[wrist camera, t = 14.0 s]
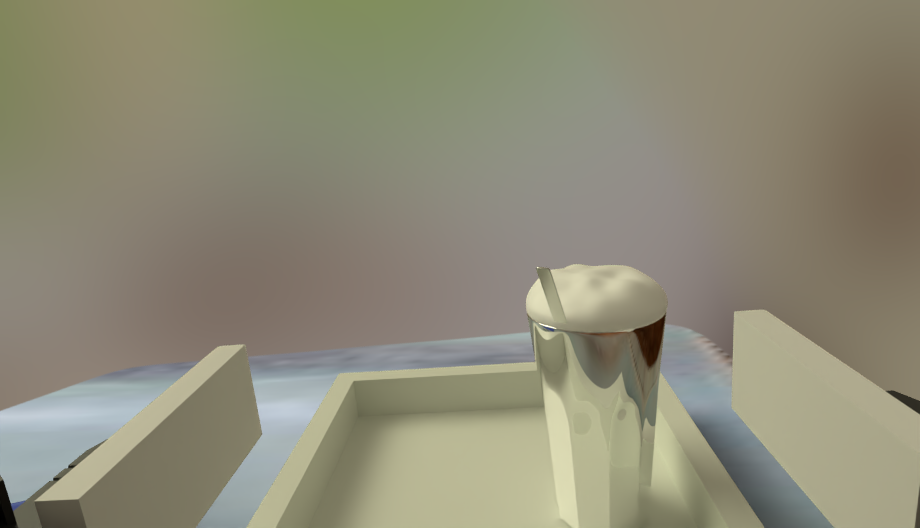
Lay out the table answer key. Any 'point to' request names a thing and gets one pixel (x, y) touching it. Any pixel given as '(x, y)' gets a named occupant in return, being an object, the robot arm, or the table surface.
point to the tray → (471, 458)
